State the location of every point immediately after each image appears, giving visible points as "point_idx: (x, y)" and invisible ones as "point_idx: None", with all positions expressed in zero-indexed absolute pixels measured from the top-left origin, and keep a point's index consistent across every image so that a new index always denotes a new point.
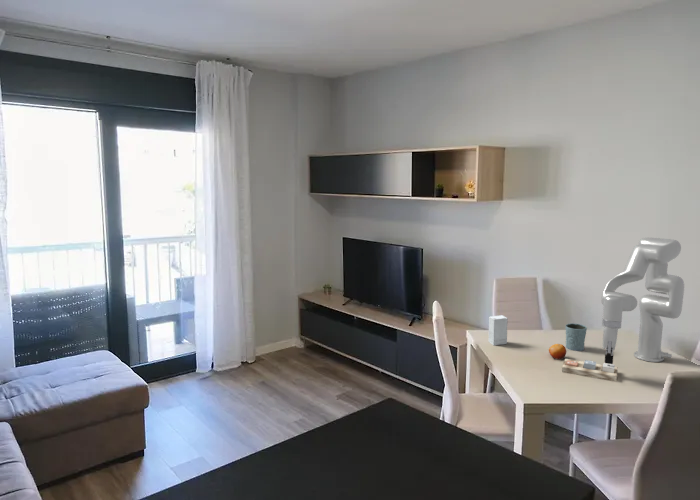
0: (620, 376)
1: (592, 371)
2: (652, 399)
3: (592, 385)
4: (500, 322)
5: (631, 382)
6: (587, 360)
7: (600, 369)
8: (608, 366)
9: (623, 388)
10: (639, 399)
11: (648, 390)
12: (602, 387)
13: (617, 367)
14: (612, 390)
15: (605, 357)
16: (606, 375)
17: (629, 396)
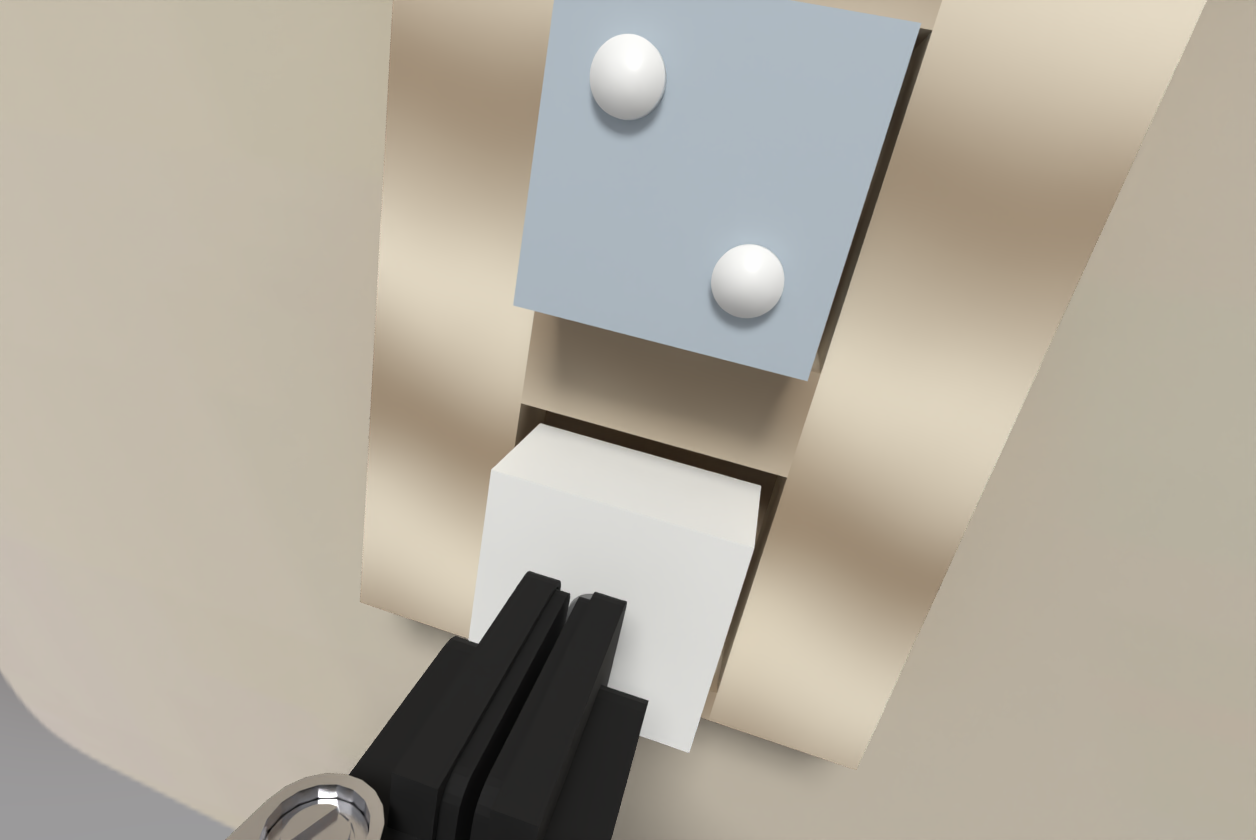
0: None
1: (424, 206)
2: (86, 746)
3: (92, 150)
4: None
5: None
6: (881, 112)
7: (614, 409)
8: None
9: (216, 569)
10: (13, 632)
11: None
12: (102, 299)
13: (841, 762)
14: (79, 415)
15: (453, 688)
16: (379, 453)
17: (25, 560)
